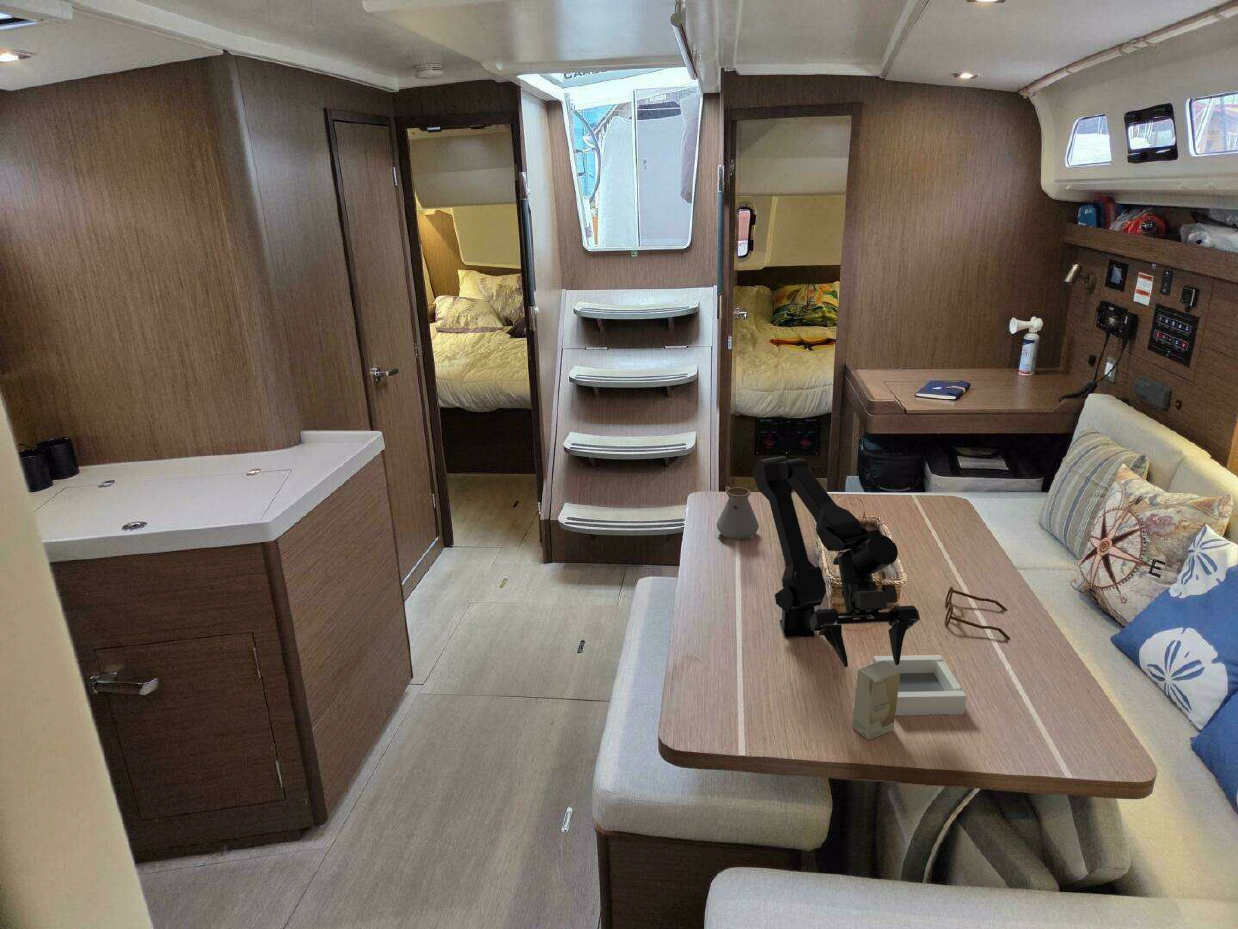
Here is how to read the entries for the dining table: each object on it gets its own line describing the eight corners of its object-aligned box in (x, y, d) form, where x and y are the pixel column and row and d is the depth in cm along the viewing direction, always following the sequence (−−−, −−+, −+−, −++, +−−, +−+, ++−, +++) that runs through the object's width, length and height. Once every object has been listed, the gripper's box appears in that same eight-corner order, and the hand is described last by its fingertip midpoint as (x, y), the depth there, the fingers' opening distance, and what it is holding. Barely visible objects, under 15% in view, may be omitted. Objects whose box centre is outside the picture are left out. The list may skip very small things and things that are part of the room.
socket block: (892, 715, 147) (894, 697, 145) (871, 673, 159) (873, 656, 157) (963, 714, 146) (966, 696, 145) (937, 672, 159) (940, 655, 157)
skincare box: (868, 741, 140) (874, 682, 136) (850, 727, 144) (856, 669, 140) (895, 729, 143) (902, 671, 139) (877, 716, 147) (883, 659, 142)
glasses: (944, 601, 185) (947, 582, 183) (1006, 611, 180) (1010, 591, 178) (944, 631, 173) (947, 611, 172) (1010, 642, 169) (1014, 621, 167)
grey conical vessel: (718, 524, 226) (719, 475, 221) (759, 527, 224) (761, 477, 219) (710, 558, 207) (711, 505, 202) (755, 562, 205) (757, 508, 199)
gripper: (817, 570, 142) (830, 659, 136) (921, 566, 143) (940, 654, 136) (804, 588, 152) (816, 671, 146) (901, 584, 153) (917, 667, 146)
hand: (871, 666), depth 143 cm, fingers open, 9 cm apart
